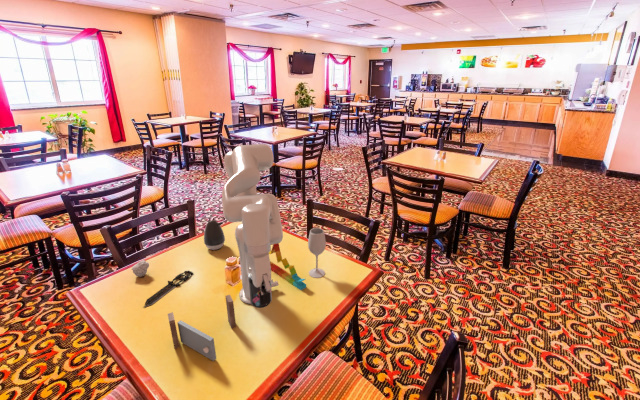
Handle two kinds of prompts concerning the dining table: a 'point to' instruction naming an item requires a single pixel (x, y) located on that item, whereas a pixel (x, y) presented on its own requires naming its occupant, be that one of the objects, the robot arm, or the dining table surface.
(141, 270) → the white rounded lump
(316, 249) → the wineglass
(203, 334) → the door
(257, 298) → the supplement container
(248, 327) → the dining table surface
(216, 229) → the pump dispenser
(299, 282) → the chart
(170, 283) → the knife
